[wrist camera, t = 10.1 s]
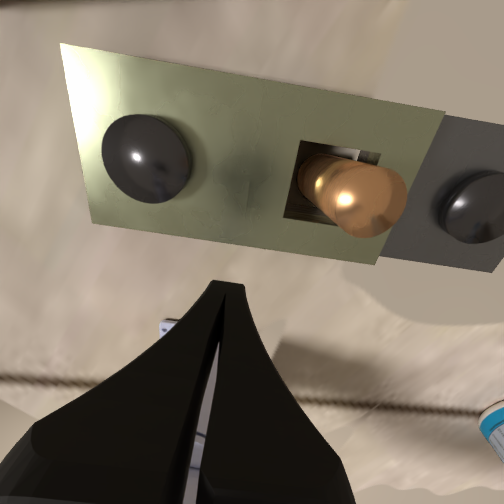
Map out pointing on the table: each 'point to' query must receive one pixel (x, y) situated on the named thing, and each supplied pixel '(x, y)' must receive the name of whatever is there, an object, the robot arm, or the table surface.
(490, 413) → the beverage bottle
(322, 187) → the copper pin
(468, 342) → the table surface
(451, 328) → the table surface
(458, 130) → the green peg socket base
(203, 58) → the table surface
